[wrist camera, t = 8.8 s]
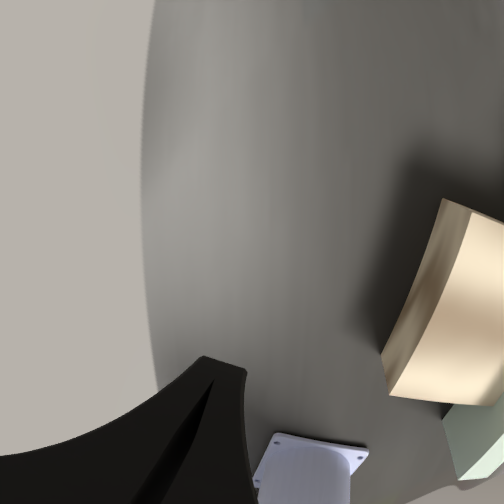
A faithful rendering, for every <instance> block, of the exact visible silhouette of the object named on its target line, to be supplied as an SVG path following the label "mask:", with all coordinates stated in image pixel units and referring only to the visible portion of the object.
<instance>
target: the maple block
mask: <svg viewBox="0 0 504 504" xmlns="http://www.w3.org/2000/svg"><path fill="white" fill-rule="evenodd" d="M381 359H382V363H383V368H384V372H385V377H386V382H387V387H388V392H389V395H392V396H399V397H406V398H413V399H420V400H428V401H436V402H445V403H455V404H467V405H480V406H494V404H495V403H496V402H497V400H498V399H499V398H500V396H501V395H502V393H503V392H504V223H503V222H501V221H499V220H497V219H494V218H492V217H490V216H487V215H485V214H483V213H480V212H478V211H475V210H473V209H470V208H468V207H465V206H463V205H460V204H458V203H455V202H453V201H450V200H447V199H445V198H442V201H441V204H440V208H439V211H438V214H437V217H436V221H435V224H434V227H433V230H432V233H431V236H430V239H429V242H428V245H427V248H426V250H425V253H424V256H423V259H422V262H421V264H420V267H419V269H418V272H417V275H416V277H415V280H414V282H413V285H412V287H411V290H410V292H409V295H408V297H407V299H406V302H405V304H404V306H403V309H402V311H401V313H400V315H399V318H398V320H397V322H396V324H395V326H394V329H393V331H392V333H391V335H390V337H389V339H388V341H387V343H386V345H385V347H384V349H383V351H382V353H381Z"/></svg>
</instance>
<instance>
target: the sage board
mask: <svg viewBox="0 0 504 504" xmlns="http://www.w3.org/2000/svg"><path fill="white" fill-rule="evenodd" d="M442 423H443V427H444V430H445V433H446V437H447V440H448V444H449V448H450V451H451V455H452V459H453V463H454V467H455V471H456V475H457V479H458V480H468V479H479V478H487V477H488V476H489V475H490V474H491V473H492V472H493V471H494V470H496V469H497V468H498V467H499V466H500V465H501V464H502V463H503V462H504V392H503V393H502V395H501V396H500V398H499V399H498V400H497V402H496V403H495V404H494V406H480V405H467V404H454V405H453V406H452V408H451V409H450V410H449V412H448V413H447V414H446V416H445V417H444V418H443V420H442Z"/></svg>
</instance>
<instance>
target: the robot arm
mask: <svg viewBox="0 0 504 504" xmlns="http://www.w3.org/2000/svg"><path fill="white" fill-rule="evenodd" d="M246 376H247V371H246V370H245V369H244V368H241V367H238V366H234V365H231V364H228V363H225V362H222V361H218V360H215V359H212V358H209V357H206V356H202V357H199V358H198V359H197V360H196V361H195V362H194V363H193V364H192V365H191V366H190V367H189V368H188V369H187V370H186V371H185V372H183V373H182V374H181V375H180V376H179V377H177V378H176V379H175V380H174V381H173V382H171V383H170V384H169V385H167V386H166V387H165V388H163V389H162V390H161V391H159V392H158V393H157V394H155V395H154V396H153V397H151V398H150V399H148V400H147V401H145V402H143V403H142V404H140V405H139V406H137V407H136V408H134V409H133V410H131V411H130V412H128V413H126V414H125V415H122V416H121V417H119V418H117V419H115V420H113V421H112V422H109V423H108V424H106V425H103V426H101V427H99V428H97V429H95V430H93V431H90V432H88V433H85V434H83V435H81V436H78V437H76V438H73V439H70V440H67V441H65V442H62V443H58V444H55V445H51V446H48V447H44V448H41V449H36V450H32V451H28V452H24V453H18V454H11V455H4V456H0V504H350V476H351V475H352V473H353V472H354V471H355V470H356V469H357V468H358V467H359V465H360V464H361V463H362V462H363V461H364V460H365V458H366V457H367V456H368V455H369V450H368V449H367V448H361V447H354V446H347V445H340V444H334V443H328V442H322V441H317V440H312V439H307V438H302V437H297V436H292V435H288V434H283V433H275V434H274V435H273V436H272V439H271V441H270V443H269V445H268V447H267V449H266V451H265V453H264V455H263V458H262V460H261V462H260V464H259V466H258V468H257V470H256V472H255V474H254V476H253V478H252V475H251V470H250V465H249V459H248V452H247V445H246V437H245V424H244V388H245V381H246ZM254 487H256V488H260V489H259V493H258V497H257V496H256V492H255V488H254Z"/></svg>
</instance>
